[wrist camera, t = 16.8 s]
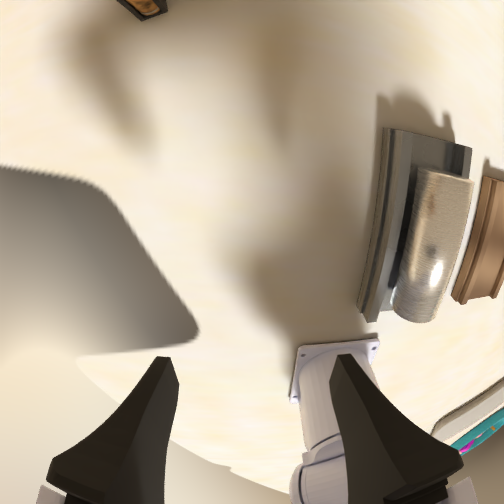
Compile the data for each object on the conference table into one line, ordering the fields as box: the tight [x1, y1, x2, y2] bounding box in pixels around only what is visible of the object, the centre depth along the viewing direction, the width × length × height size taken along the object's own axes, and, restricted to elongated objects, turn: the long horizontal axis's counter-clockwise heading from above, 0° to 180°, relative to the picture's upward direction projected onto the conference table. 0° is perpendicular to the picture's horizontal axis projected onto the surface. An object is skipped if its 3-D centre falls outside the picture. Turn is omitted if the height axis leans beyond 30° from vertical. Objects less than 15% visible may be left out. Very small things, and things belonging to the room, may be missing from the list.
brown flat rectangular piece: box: [451, 176, 504, 305], centre depth 18 cm, size 12×7×2 cm, turn 0°
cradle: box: [357, 128, 472, 323], centre depth 17 cm, size 14×7×2 cm, turn 0°
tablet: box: [431, 379, 504, 442], centre depth 37 cm, size 16×26×2 cm, turn 112°
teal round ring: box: [451, 408, 504, 456], centre depth 50 cm, size 30×30×6 cm
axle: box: [390, 166, 474, 323], centre depth 16 cm, size 10×4×4 cm, turn 1°
